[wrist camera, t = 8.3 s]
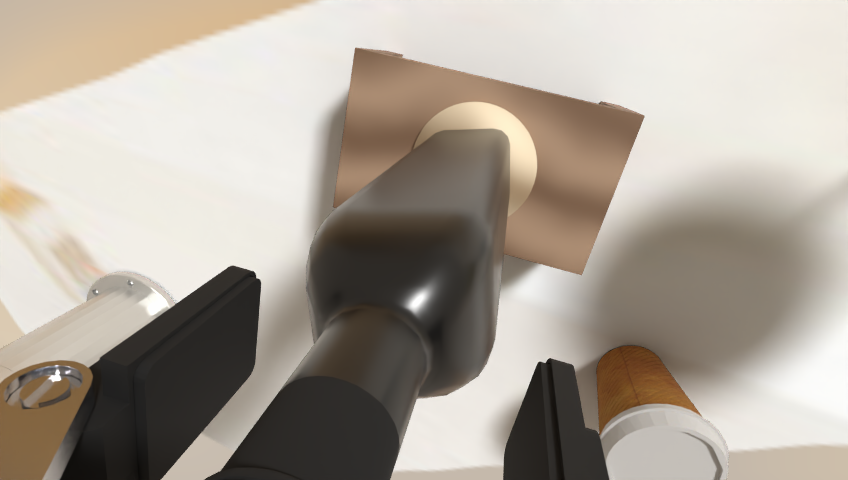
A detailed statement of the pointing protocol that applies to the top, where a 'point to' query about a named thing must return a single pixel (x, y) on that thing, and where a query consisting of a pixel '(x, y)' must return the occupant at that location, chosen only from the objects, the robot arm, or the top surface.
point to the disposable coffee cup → (653, 423)
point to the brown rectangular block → (528, 135)
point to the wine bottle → (390, 312)
